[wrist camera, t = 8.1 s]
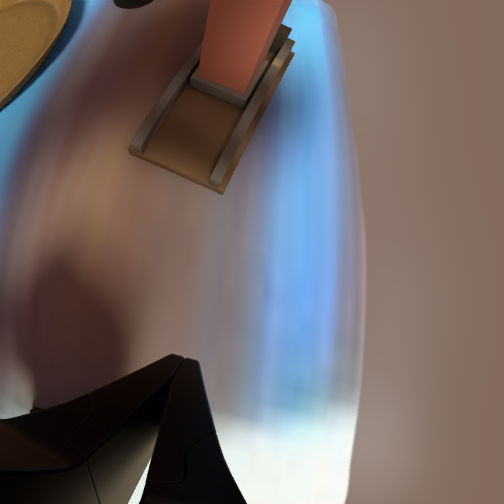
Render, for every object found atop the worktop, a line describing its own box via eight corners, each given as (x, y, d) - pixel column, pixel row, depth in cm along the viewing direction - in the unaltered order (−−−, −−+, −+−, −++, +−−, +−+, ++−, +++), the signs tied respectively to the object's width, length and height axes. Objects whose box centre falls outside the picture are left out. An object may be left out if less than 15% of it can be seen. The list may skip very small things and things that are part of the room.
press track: (222, 194, 23) (231, 178, 19) (129, 153, 22) (121, 130, 18) (291, 59, 26) (306, 34, 22) (218, 28, 25) (224, 0, 21)
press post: (242, 108, 23) (315, -46, 8) (189, 86, 22) (216, -77, 7) (265, 69, 24) (336, -67, 9) (216, 49, 23) (257, -95, 8)
